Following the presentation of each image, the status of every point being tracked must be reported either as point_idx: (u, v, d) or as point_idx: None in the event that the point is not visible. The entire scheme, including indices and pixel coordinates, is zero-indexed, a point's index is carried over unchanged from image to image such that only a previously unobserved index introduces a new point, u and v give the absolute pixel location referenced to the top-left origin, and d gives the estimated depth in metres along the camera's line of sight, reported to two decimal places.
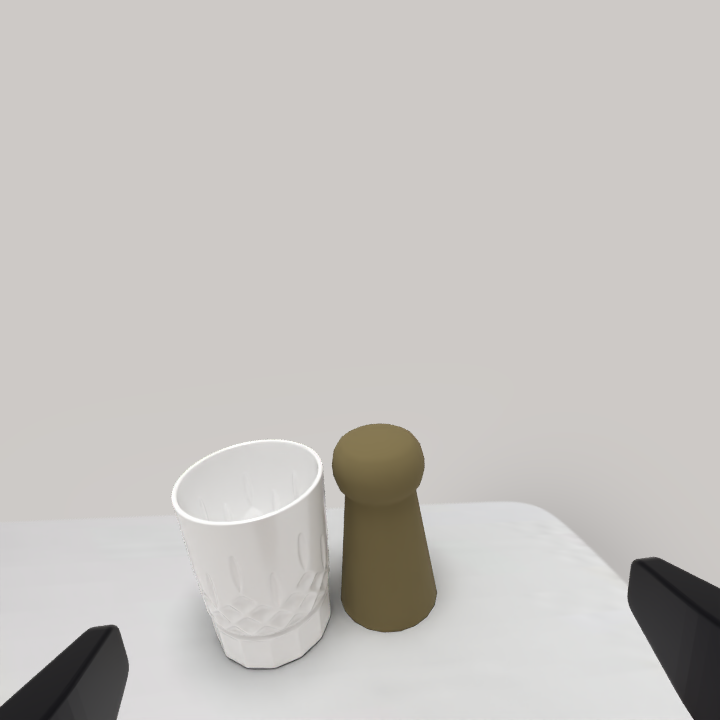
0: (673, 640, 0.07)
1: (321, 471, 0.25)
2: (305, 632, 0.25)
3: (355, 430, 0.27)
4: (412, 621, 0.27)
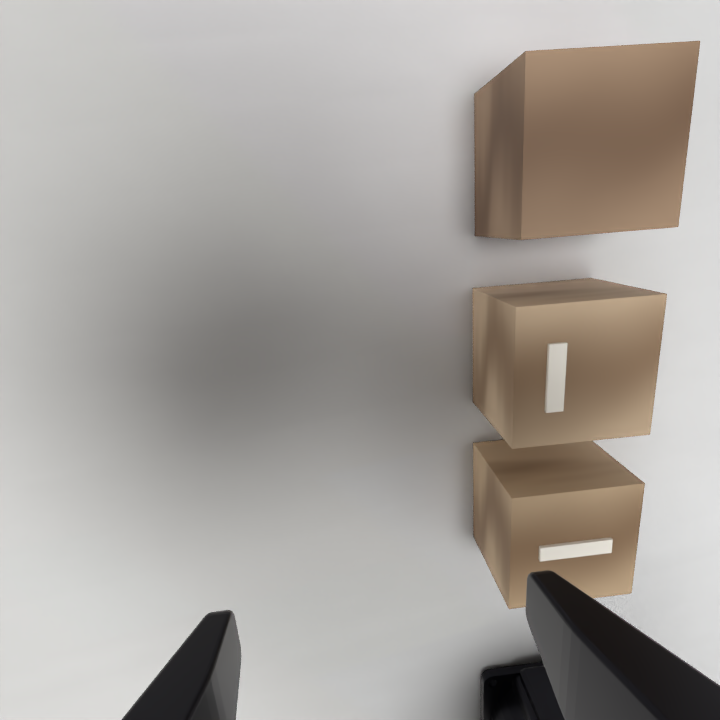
0: (556, 656, 0.07)
1: None
2: None
3: None
4: None
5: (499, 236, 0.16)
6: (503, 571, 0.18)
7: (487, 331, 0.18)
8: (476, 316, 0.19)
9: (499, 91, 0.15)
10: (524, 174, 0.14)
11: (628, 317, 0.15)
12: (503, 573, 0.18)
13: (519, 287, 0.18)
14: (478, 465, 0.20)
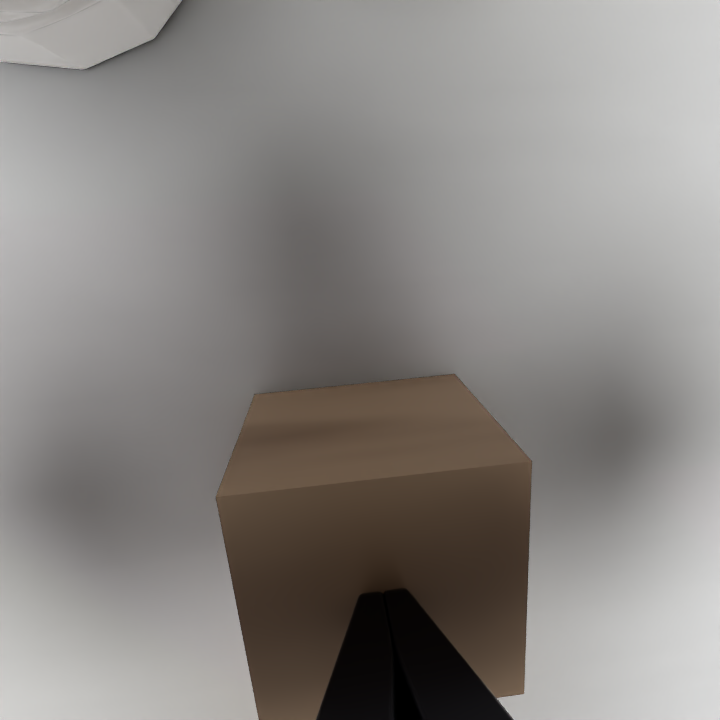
0: None
1: None
2: None
3: None
4: None
5: None
6: None
7: None
8: None
9: None
10: (248, 653, 0.08)
11: None
12: None
13: None
14: None
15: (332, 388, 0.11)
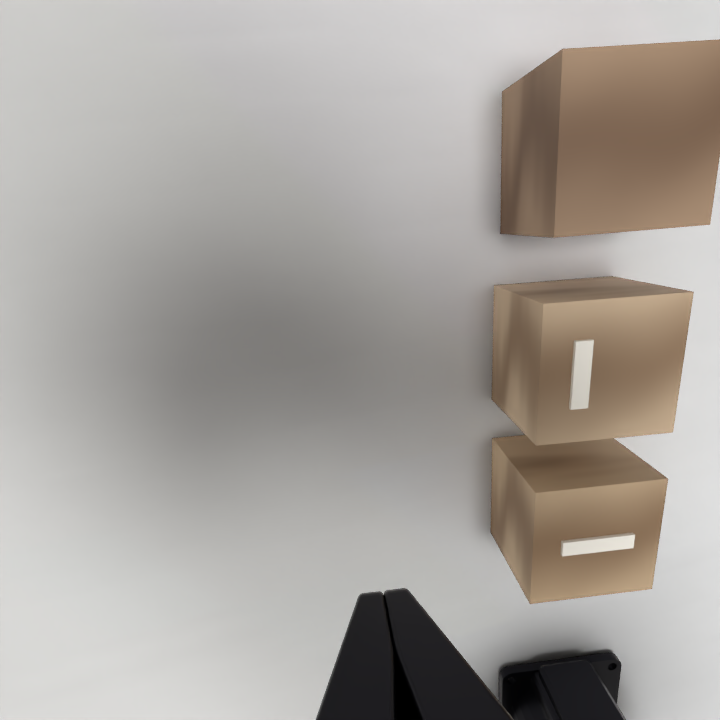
0: None
1: None
2: None
3: None
4: None
5: (529, 234, 0.16)
6: (524, 566, 0.18)
7: (509, 328, 0.18)
8: (497, 313, 0.19)
9: (531, 89, 0.15)
10: (558, 172, 0.14)
11: (654, 314, 0.15)
12: (524, 568, 0.18)
13: (541, 284, 0.18)
14: (497, 460, 0.20)
15: None
